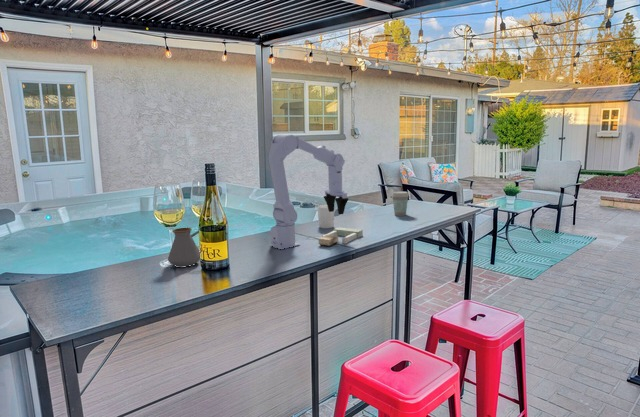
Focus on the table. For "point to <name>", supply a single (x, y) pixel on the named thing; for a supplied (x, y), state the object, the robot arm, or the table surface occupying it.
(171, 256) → the coffee pot
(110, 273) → the table surface
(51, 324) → the table surface
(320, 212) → the white cup
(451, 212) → the table surface
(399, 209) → the coffee cup
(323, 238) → the tan block
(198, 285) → the table surface
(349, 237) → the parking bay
